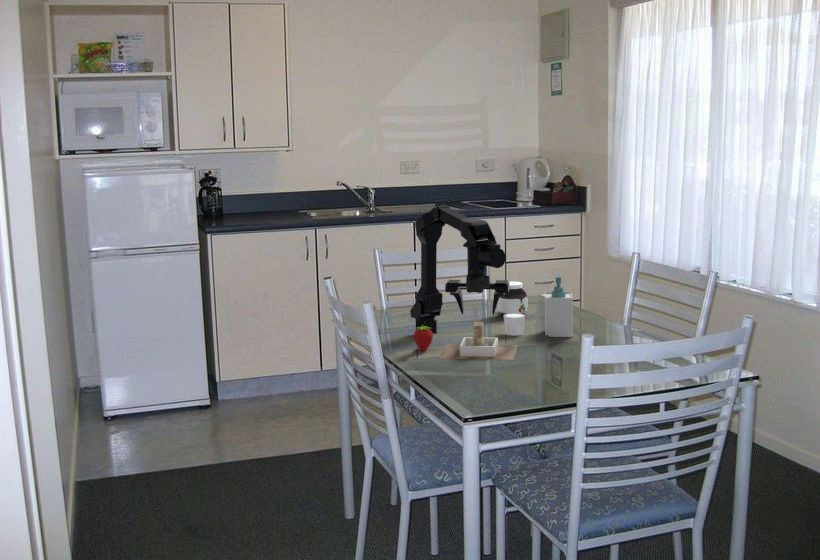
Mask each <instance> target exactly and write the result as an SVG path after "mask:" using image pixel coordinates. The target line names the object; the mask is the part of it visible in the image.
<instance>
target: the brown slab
mask: <svg viewBox="0 0 820 560" xmlns="http://www.w3.org/2000/svg"><path fill="white" fill-rule="evenodd" d="M460 345H461V343H446V344H445V347H444V348H443V350H442V352H441V354H440V356H439V359H446V360H447V359H448V360H449V359H450V360H484V361H485V360H487V361H488V360H489V361H490V360H491V361H492V360H496V361H502V360H503V361H515V357H516V353H517V349H518V344H498V349H497V352H496V355H495V357H480V356H460Z"/></svg>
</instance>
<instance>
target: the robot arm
mask: <svg viewBox="0 0 820 560" xmlns="http://www.w3.org/2000/svg"><path fill="white" fill-rule="evenodd" d="M445 225H448V226H450V227H451V228H453V229H455V230H457V231H459V233H460V236H461V237H462V238H463V239H465V240H466V241H465V242H464V243H463V244H462V246H463V247H464V248H466V249H467V252H466V253H467V255H466V257H467V274H466V277H465V278H466V281H465V282H462V281H461V279H448V280H447V281H446V283H445V286H444V288H445V293H449V295H450V296H453V297H454V298H455V300H456V302H457V306H458V308H459V310H460V314H461V315H464V311H465V309H464V298H463V290H466V292H467V294H468V293H469V294H472V293H477V294H481V293H483V292H484V290H494V293H493V298H492V299H493V302H492V310H491V312H492V313H491V314H492V316H494V315H495V312H496V308H497V307H498V300H499V298H500V296H503V295H504V294H505V293H508V292H509V289H510V284H509V282H510V281H509V280H507V279H506V280H505V279H498V280H497V279H496V280H495V282H493V283H492V282H491V278H490V275H488V267H490V268H494V269H501V268H502V267H503V266H504V264H506V261H507V260H506V259H507V255H506V253H505V251H504V249H502V248H501V244H499V243H497V241H496V236H495V235H494V234H493V231H492V229H491V227H490V224H489V223H488V222H487V221H486V220H483V219H478V218H469V217H468V216H465V215H464V214H462V213H460V212H458V211H457V210H454V209H452V208H450V206H448V205H439V206H438V205H437V206H435V207H433V208H432V209H431V210H429V211H428V212H426V213H424V214H423V215H421V216H419V217H418V218H417V219H416V220H415V224H414V227H415V236H416V237H417V238H418V241H420V244H421V247H420V249H421V250H420V264H421V265H420V272H421V273H420V287H419V290H418V291H417V292H416V295H415V303H414V304H413V305H412V307H411V309H410V311H409V313H410V317H411V318H413V319H414V320H415V328H416V327H421V326H422V325H423V326H427V327H430V328H433V329H430V330H431V331H432V333H433V335H434V334H435V335H436V334H438V331H439V330H438V329H439V328H438V325H439V322H438V320H437V317H439V316H440V315H441V311H442V308H443V305H444V303H443V293H442V292H440V291H439V289H438V288H437V257H438V256H437V255H438V254H437V252H438V251H437V250H438V249H437V248H438V247H437V245H438V244H437V243H439V240H440V238H441V237H442V234H443V227H445ZM425 321H426V322H425ZM424 322H425V323H424ZM416 330H418V329H415V331H416Z"/></svg>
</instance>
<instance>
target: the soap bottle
mask: <svg viewBox="0 0 820 560" xmlns="http://www.w3.org/2000/svg"><path fill="white" fill-rule="evenodd" d="M555 284H556V286H553V290H552V291H551V292H548V291H547V292H544V334H545V335H544V336H549V338H573V337H574V336H573V335H574V331H573V330H574V326H573V325H574V324H573V323H574V322H573V321H574V320H573V319H574V316H573V315H574V305H573V304H574V298H573V293H572V292H571V291H570V292H569V291H568V292H566V290H564V287H563V286H562V285H561V284H562V275H561V274H560V273H557V274H555Z"/></svg>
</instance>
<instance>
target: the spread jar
mask: <svg viewBox="0 0 820 560" xmlns="http://www.w3.org/2000/svg"><path fill="white" fill-rule="evenodd" d="M509 284H510V289H509V292H508V293H505V294H504V295H503V296H500V298H499V300H498V303H497V309H498V312H499V314H500V315H502V317H504V315H505V314H509V313H520V314H524V315H525V314H526V313H527V310H528V301H529V300H528V293H527V292H526V290H525V289H524V288H523V282H521V281H509Z"/></svg>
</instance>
